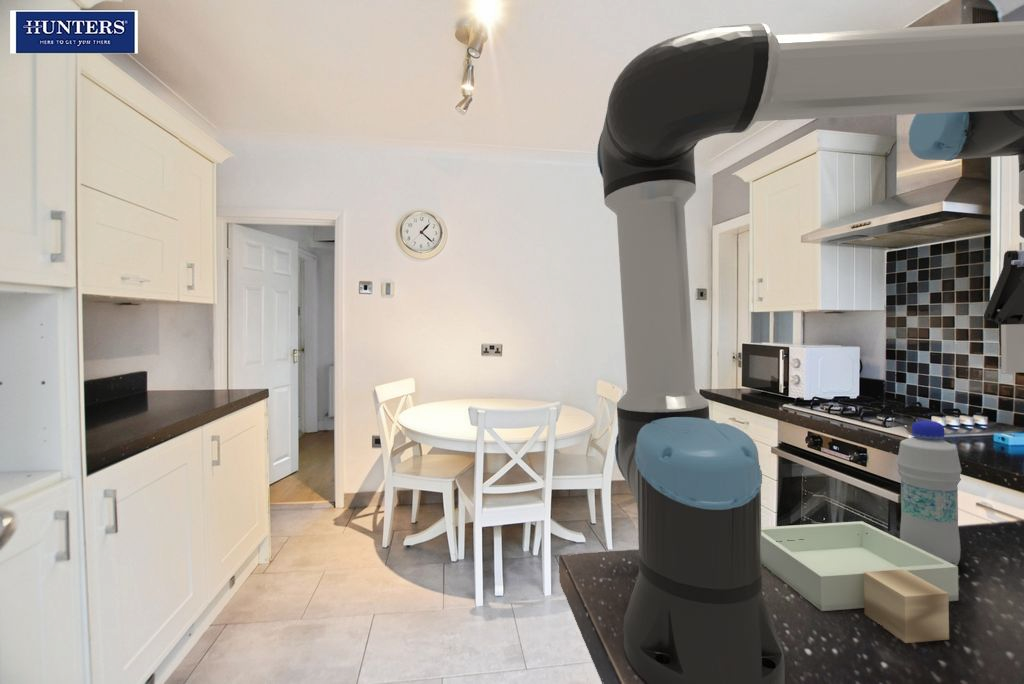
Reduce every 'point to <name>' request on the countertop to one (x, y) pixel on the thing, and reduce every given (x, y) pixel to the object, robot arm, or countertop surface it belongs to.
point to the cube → (906, 605)
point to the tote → (846, 561)
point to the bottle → (930, 491)
